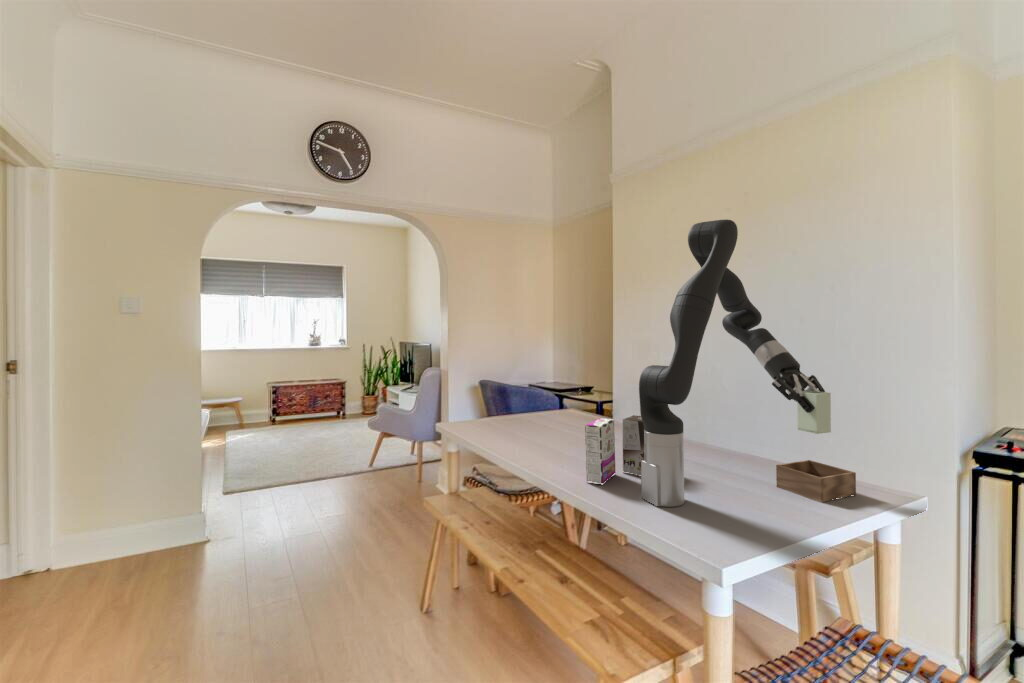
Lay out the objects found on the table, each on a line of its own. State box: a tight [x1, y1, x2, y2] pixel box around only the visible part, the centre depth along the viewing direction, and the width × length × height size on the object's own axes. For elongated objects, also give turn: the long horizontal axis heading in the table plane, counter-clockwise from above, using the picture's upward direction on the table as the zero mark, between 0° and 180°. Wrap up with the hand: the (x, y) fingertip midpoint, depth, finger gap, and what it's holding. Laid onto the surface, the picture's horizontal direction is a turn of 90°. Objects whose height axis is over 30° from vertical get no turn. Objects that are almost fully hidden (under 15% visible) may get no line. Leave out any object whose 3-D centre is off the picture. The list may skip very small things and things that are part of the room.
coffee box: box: [622, 414, 644, 476], centre depth 132 cm, size 9×6×16 cm
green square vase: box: [797, 391, 832, 435], centre depth 112 cm, size 5×5×10 cm
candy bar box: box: [584, 417, 616, 483], centre depth 125 cm, size 11×5×16 cm, turn 148°
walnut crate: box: [775, 459, 857, 503], centre depth 113 cm, size 12×12×6 cm
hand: (819, 409), depth 111 cm, fingers closed on green square vase, 5 cm apart
